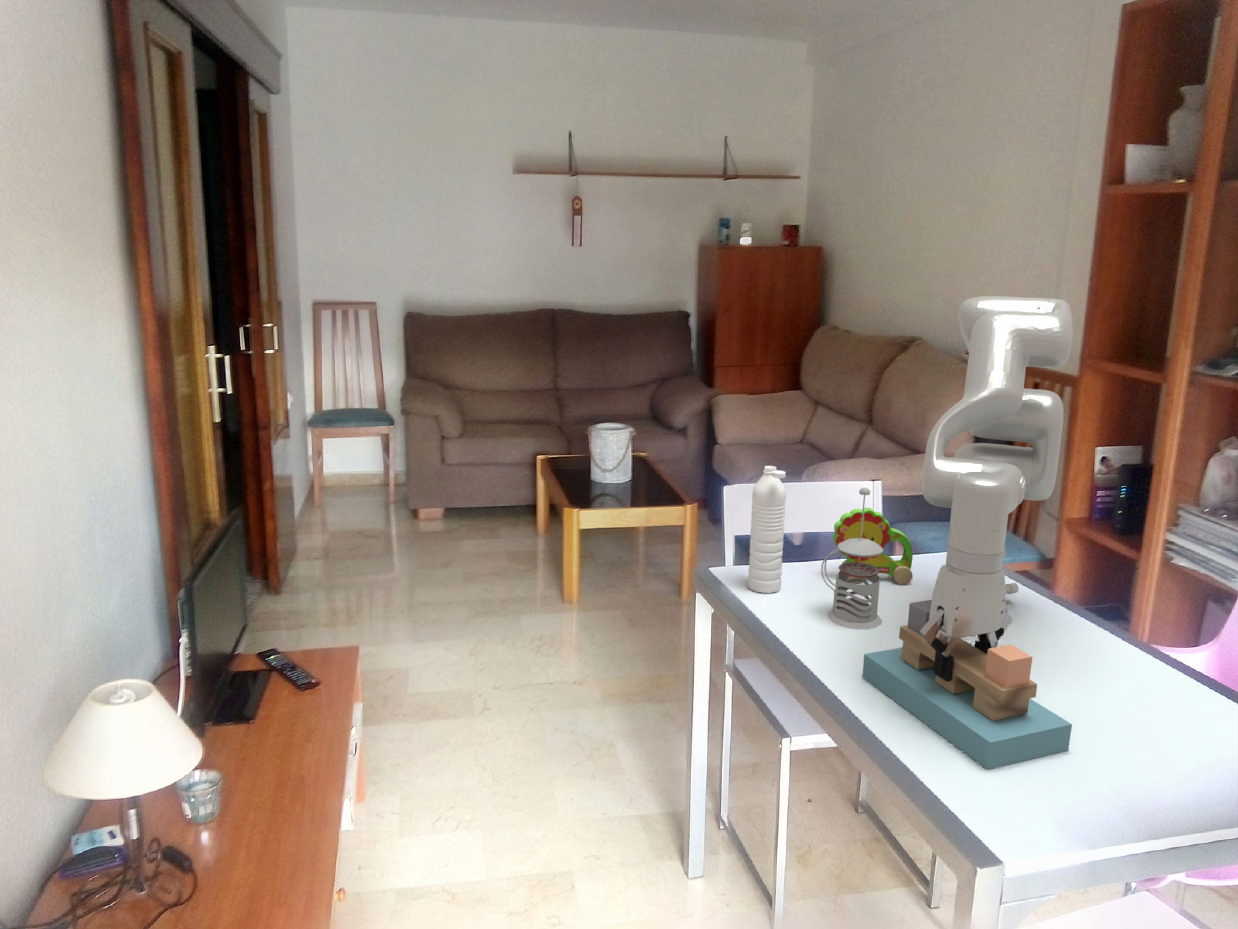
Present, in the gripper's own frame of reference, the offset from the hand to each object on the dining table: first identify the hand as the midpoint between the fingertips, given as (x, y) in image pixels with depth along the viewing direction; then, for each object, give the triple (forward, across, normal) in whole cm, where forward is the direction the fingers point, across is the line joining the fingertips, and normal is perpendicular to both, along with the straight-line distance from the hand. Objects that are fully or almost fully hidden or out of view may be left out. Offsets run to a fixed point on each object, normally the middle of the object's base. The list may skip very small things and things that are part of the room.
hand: (961, 672), depth 137 cm
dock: (+6, 0, 0) cm, 6 cm away
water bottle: (+7, +3, -52) cm, 52 cm away
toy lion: (+7, -20, -50) cm, 54 cm away
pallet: (+2, 0, 0) cm, 2 cm away
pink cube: (-3, 0, +8) cm, 9 cm away
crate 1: (-3, 0, -8) cm, 9 cm away
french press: (+7, -5, -35) cm, 36 cm away
